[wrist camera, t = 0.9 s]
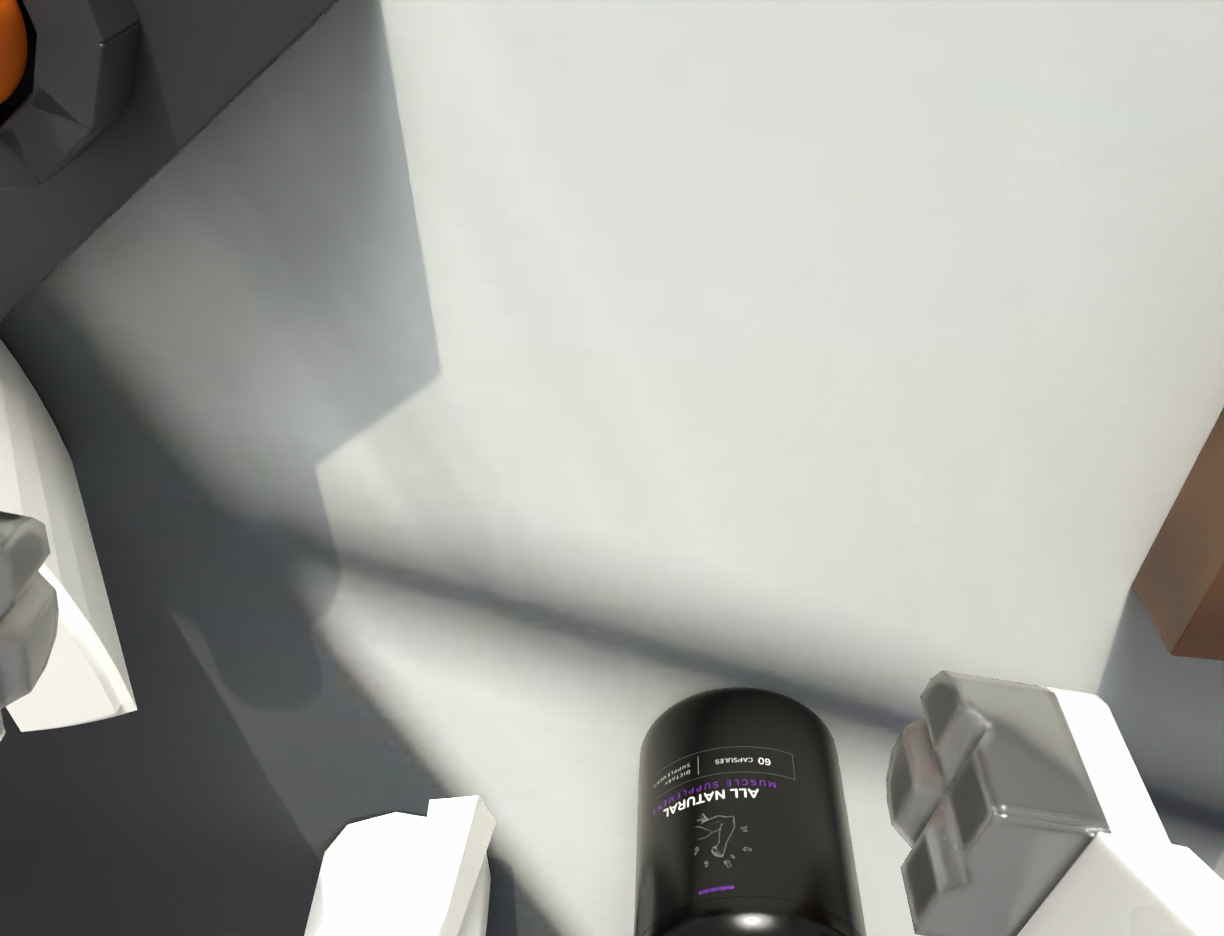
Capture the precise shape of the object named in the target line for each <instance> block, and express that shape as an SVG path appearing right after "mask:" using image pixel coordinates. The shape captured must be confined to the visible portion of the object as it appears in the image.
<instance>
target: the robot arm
mask: <svg viewBox="0 0 1224 936" xmlns="http://www.w3.org/2000/svg"><path fill="white" fill-rule="evenodd" d="M50 553H51V552H50V547H49V542H48V537H47V532H46V527H45V524H44V523H42V522H40V521H39V520H37V519H35V518H33V517H28V516H23V515H18V514H12V513H7V512H2V511H0V741H1V739H2V738H3V736H4V735H5V728H4V723H3V717H2V712H1V709H2V708H4V707H6V706H7V705H9V704H11V703H13V702H15V701H16V700H18V699H20V698H22V697H24V696H25V695H27V694H29V693H31V691H32V690H33V688H34V686H35V685H36V683H37V681H38V680H39V678H40V676H41V674H42V673H43V671H44V669H45V668H46V666H47V663H48V660H49V657H50V654H51V651H52V648H53V645H54V642H55V639H56V636H57V627H58V615H59V608H58V600H57V592H56V589H55V588H54V587H53V586H52V585H51V584H50V583H49V582H48V581H47V580H46V579H45V578H44V577H43V576H42V575H41V574H40V573H39V571H38V570H39V569H40V567H41V566H42V564H43V563H44V562H45V560H46V559H47V557H48V556H49V554H50ZM920 698H921V702H922V706H923V710H924V714H925V717H923V718H921V719H919V720H917V721H915V722H913V723H912V724H910V725H908V726H906V727H904V728H903V729H902V731H901V733H900V735H899V737H898V739H897V741H896V743H895V746H894V748H893V750H892V752H891V757H890V762H889V768H888V773H887V779H886V781H887V803H888V808H889V814H890V819H891V824H892V826H893V827H894V828H895V830H896V831H897V832H898V833H899V834H900V835H901V837H902V838H903V839H904V840H905V841H906V842H907V844H908V845H909V846H910V847H911V848H912V850H911V851H910V853H909V855H908V856H907V858H906V860H905V861H904V863H903V865H902V866H901V872H902V876H903V881H904V885H905V890H906V894H907V899H908V904H909V908H910V913H911V917H912V922H913V926H914V931H915V934H918V935H924V936H1224V880H1223V879H1222V878H1221V877H1219V876H1218V875H1217V874H1216V873H1215V872H1214V871H1213V870H1212V869H1211V868H1210V867H1209V866H1208V865H1206V864H1205V863H1204V862H1203V861H1202V860H1201V859H1200V858H1199V857H1198V856H1197V855H1196V854H1195V853H1193V852H1192V851H1191V850H1190V849H1189V848H1188V847H1186V846H1180V845H1175V844H1171V842H1170V840H1169V838H1168V836H1167V833H1166V831H1165V829H1164V827H1163V825H1162V823H1161V820H1160V818H1159V816H1158V814H1157V812H1156V809H1155V807H1154V805H1153V803H1152V801H1151V798H1150V796H1149V794H1148V792H1147V790H1146V788H1145V785H1144V783H1143V781H1142V779H1141V777H1140V774H1139V772H1138V770H1137V768H1136V766H1135V763H1134V761H1133V759H1132V757H1131V755H1130V753H1129V750H1128V748H1127V746H1126V744H1125V742H1124V739H1123V737H1122V735H1121V733H1120V731H1119V728H1118V726H1117V724H1116V722H1115V720H1114V718H1113V715H1112V713H1111V711H1110V709H1109V707H1108V705H1107V704H1106V703H1105V702H1104V701H1103V700H1102V699H1101V698H1100V697H1099V696H1098V695H1096V694H1090V693H1084V692H1077V691H1071V690H1064V689H1058V688H1051V687H1039V686H1036V685H1030V684H1024V683H1018V682H1011V681H1005V680H999V679H993V678H986V677H980V676H974V675H967V674H961V673H955V672H949V671H941V672H939V673H938V674H937V675H935V676H934V677H933V678H931V679H930V681H929V683H928V685H927V686H926V688H925V690H924V692H923V693H922V695H921V697H920Z"/></svg>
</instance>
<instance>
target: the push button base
mask: <svg viewBox="0 0 1224 936" xmlns="http://www.w3.org/2000/svg"><path fill="white" fill-rule="evenodd" d="M339 1H340V0H17V2H18V5H19V7H20V10H21V13H22V15H23V19H24V23H25V27H26V34H27V60H26V67H25V70H24V73H23V76H22V79H21V81H20V83H19V85H18V86H17V88H16V89H15V91H14V92H13V93H12V94H11V96H9V97H8V98H7V99H6V100H5V101H4V102H3V103H1V104H0V321H1V320H2V319H3V318H4V317H5V316H6V315H7V314H8V313H9V312H10V311H11V310H12V309H14V308H15V307H16V306H17V305H18V304H19V303H20V302H21V301H22V300H23V299H24V298H25V297H26V296H27V295H29V294H30V293H31V292H32V291H33V290H34V289H35V288H36V287H37V286H38V285H39V284H40V283H41V282H42V281H44V280H45V279H46V278H47V277H48V276H49V275H50V274H51V273H52V272H53V271H54V270H55V269H56V268H57V267H58V266H59V265H61V264H62V263H63V262H64V261H65V260H66V259H67V258H68V257H69V256H70V255H71V254H72V253H73V252H74V251H75V250H76V249H77V248H79V247H80V246H81V245H82V244H83V243H84V242H85V241H86V240H87V239H88V238H89V237H90V236H91V235H92V234H93V233H94V232H95V231H96V230H98V229H99V228H100V227H101V226H102V225H103V224H104V223H105V222H106V221H107V220H108V219H109V218H110V217H111V216H112V215H113V214H114V213H116V212H117V211H118V210H119V209H120V208H121V207H122V206H123V205H124V204H125V203H126V202H127V201H128V200H129V199H130V198H131V197H132V196H133V195H135V194H136V193H137V192H138V191H139V190H140V189H141V188H142V187H143V186H144V185H145V184H146V183H147V182H148V181H149V180H150V179H151V178H153V177H154V176H155V175H156V174H157V173H158V172H159V171H160V170H161V169H162V168H163V167H164V166H165V165H166V164H167V163H168V162H169V161H170V160H172V159H173V158H174V157H175V156H176V155H177V154H178V153H179V152H180V151H181V150H182V149H183V148H184V147H185V146H186V145H187V144H188V143H190V142H191V141H192V140H193V139H194V138H195V137H196V136H197V135H198V134H199V133H200V132H201V131H202V130H203V129H204V128H205V127H206V126H207V125H209V124H210V123H211V122H212V121H213V120H214V119H215V118H216V117H217V116H218V115H219V114H220V113H221V112H222V111H223V110H224V109H225V108H227V107H228V106H229V105H230V104H231V103H232V102H233V101H234V100H235V99H236V98H237V97H238V96H239V95H240V94H241V93H242V92H243V91H244V90H246V89H247V88H248V87H249V86H250V85H251V84H252V83H253V82H254V81H255V80H256V79H257V78H258V77H259V76H260V75H261V74H262V73H264V72H265V71H266V70H267V69H268V68H269V67H270V66H271V65H272V64H273V63H274V62H275V61H276V60H277V59H278V58H279V57H280V56H281V55H283V54H284V53H285V52H286V51H287V50H288V49H289V48H290V47H291V46H292V45H293V44H294V43H295V42H296V41H297V40H298V39H299V38H301V37H302V36H303V35H304V34H305V33H306V32H307V31H308V30H309V29H310V28H311V27H312V26H313V25H314V24H315V23H316V22H317V21H318V20H320V19H321V18H322V17H323V16H324V15H325V14H326V13H327V12H328V11H329V10H330V9H331V8H332V7H333V6H334V5H335V4H336V3H338V2H339Z"/></svg>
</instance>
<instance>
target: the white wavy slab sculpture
mask: <svg viewBox="0 0 1224 936" xmlns="http://www.w3.org/2000/svg"><path fill="white" fill-rule="evenodd" d="M0 511H2V512H7V513H12V514H18V515H23V516H28V517H33V518H35V519H37V520H39V521H40V522H42V523H44V524H45V527H46V532H47V537H48V542H49V547H50V552H51V553H50V554H49V556H48V557H47V559H46V560H45V562H44V563H43V564H42V566H41V567H40V569H39V570H38V571H39V573H40V574H41V575H42V576H43V577H44V578H45V579H46V580H47V581H48V582H49V583H50V584H51V585H52V586H53V587H54V588H55V589H56V592H57V600H58V608H59V615H58V627H57V636H56V639H55V642H54V645H53V648H52V651H51V654H50V657H49V660H48V663H47V666H46V668H45V669H44V671H43V673H42V674H41V676H40V678H39V680H38V681H37V683H36V685H35V686H34V688H33V690H32V691H31V693H29V694H27V695H25V696H24V697H22V698H20V699H18V700H16V701H15V702H13V703H11V704H9V705H7V706H6V708H7V710H8V712H9V713H10V715H11V716H12V718H13V720H14V721H15V723H16V724H17V726H18V727H19V729H20V731H21V732H26V731H35V730H45V729H53V728H60V727H67V726H73V725H79V724H84V723H89V722H94V721H98V720H102V719H107V718H111V717H114V716H118V715H122V714H125V713H128V712H132V711H135V710H137V707H136V703H135V699H134V695H133V691H132V688H131V684H130V680H129V676H128V672H127V669H126V665H125V661H124V657H123V653H122V649H121V646H120V642H119V638H118V634H117V630H116V627H115V623H114V619H113V615H112V611H111V608H110V604H109V600H108V596H107V592H106V589H105V585H104V581H103V577H102V573H101V570H100V566H99V562H98V558H97V554H96V551H95V547H94V543H93V539H92V535H91V532H90V528H89V524H88V520H87V516H86V513H85V509H84V505H83V501H82V497H81V494H80V490H79V486H78V482H77V478H76V475H75V471H74V467H73V463H72V460H71V458H70V455H69V453H68V451H67V449H66V447H65V445H64V443H63V441H62V439H61V436H60V434H59V432H58V430H57V428H56V426H55V424H54V422H53V420H52V419H51V417H50V415H49V413H48V411H47V410H46V408H45V406H44V404H43V402H42V401H41V399H40V397H39V395H38V394H37V392H36V390H35V389H34V387H33V386H32V384H31V383H30V381H29V379H28V378H27V376H26V375H25V373H24V372H23V370H22V369H21V367H20V365H19V364H18V362H17V361H16V359H15V358H14V357H13V355H12V354H11V353H10V351H9V350H8V348H7V347H6V346H5V344H4V343H3V342H2V340H1V339H0Z"/></svg>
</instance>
